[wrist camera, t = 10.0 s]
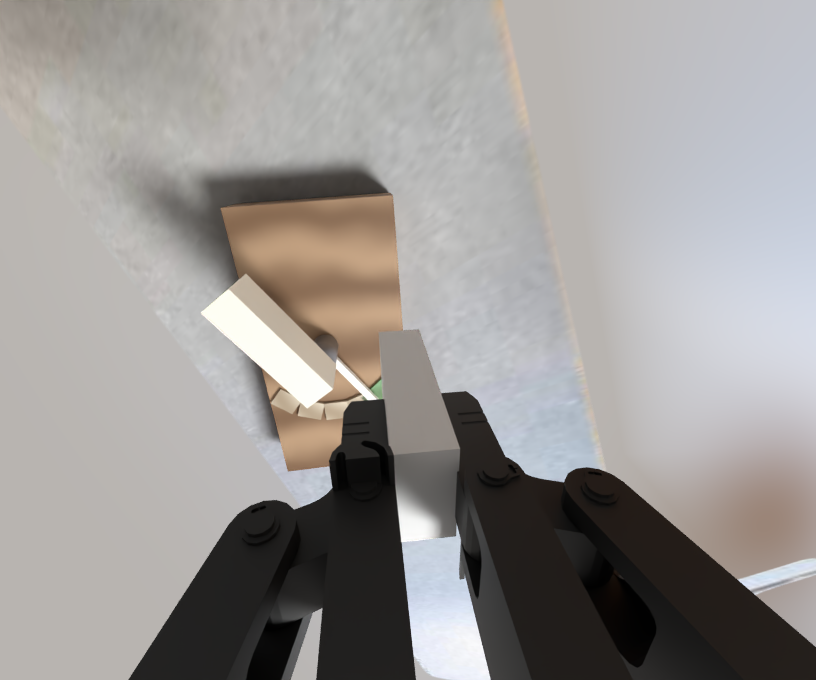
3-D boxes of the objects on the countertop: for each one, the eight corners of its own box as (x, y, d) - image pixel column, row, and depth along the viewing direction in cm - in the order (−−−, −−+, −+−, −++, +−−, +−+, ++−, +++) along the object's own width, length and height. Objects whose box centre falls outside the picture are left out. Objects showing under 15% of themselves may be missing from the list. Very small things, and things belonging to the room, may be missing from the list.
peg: (239, 278, 33) (200, 312, 25) (261, 260, 32) (228, 288, 24) (366, 403, 39) (367, 461, 31) (385, 389, 39) (391, 445, 31)
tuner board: (235, 203, 34) (219, 208, 30) (394, 192, 35) (398, 195, 31) (293, 447, 46) (287, 473, 42) (411, 433, 47) (416, 457, 43)
